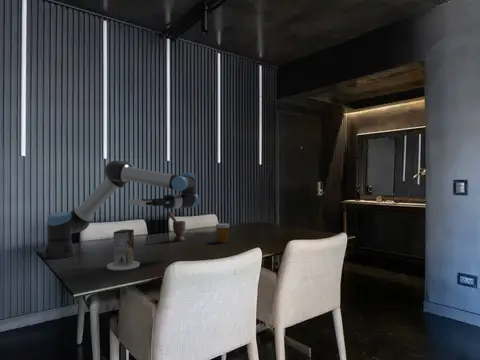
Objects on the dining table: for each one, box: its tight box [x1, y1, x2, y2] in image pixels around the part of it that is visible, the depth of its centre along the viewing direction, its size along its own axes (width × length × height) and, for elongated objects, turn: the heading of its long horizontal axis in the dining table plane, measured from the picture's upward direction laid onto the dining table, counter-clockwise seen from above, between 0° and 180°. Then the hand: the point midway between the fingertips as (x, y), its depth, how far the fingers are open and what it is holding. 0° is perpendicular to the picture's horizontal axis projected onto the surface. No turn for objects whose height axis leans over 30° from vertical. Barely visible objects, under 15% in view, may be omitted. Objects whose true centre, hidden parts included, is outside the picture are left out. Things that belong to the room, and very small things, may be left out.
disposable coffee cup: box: [215, 222, 230, 243], centre depth 235 cm, size 10×10×12 cm
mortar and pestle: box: [167, 211, 186, 242], centre depth 238 cm, size 12×9×20 cm
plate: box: [106, 260, 141, 271], centre depth 167 cm, size 15×15×1 cm
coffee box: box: [113, 229, 135, 266], centre depth 167 cm, size 9×6×16 cm
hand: (134, 202), depth 176 cm, fingers open, 13 cm apart
